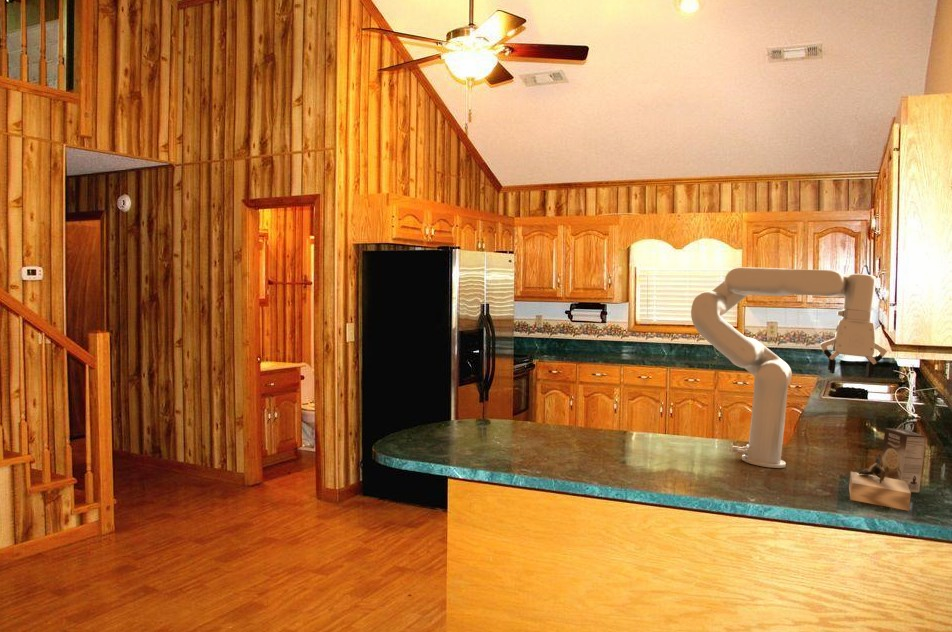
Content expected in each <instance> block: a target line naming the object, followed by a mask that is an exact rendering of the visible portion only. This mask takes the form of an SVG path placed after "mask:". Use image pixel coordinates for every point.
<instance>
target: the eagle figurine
mask: <svg viewBox="0 0 952 632" xmlns="http://www.w3.org/2000/svg"><path fill="white" fill-rule="evenodd" d="M881 459H882V455H881V454H880V453H878V455H876V458H875V460H874V463H873V464H871V465H870V466H869V468H865V469H862V470H861V471H859V472H858V473H859V474H865V475H874V476H877V477H879V478H880V483H881V481H882V480H884V478H885V477H886V476H887V475H888V474H890V473H892V472H894V471H896V470H897V468H895V469H893V470H891V471H889V468H888V466H887V467H886V469H885V471H883V470H882V469H880V468H881Z"/></svg>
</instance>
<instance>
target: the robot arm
mask: <svg viewBox="0 0 952 632" xmlns="http://www.w3.org/2000/svg"><path fill="white" fill-rule="evenodd" d="M724 277H725V278H724V281H722V282H721V283H720V284H719V285H717V286H716V287H715V288H713V289H712V290H705V291H702V292H699V293H698V294H697V295H696V296H695V297H694V298H693V301H692V305H691V307H690V308H691V309H690V316H691V321H692V324H693V326H694V329H695V330H696V331H697V332H698V334H699V335H700V336H701V337H702V338H703V339H705V340H706V341H707V342H708V343H709V344H710V345H711V346H713V347H714V348H715V349H716V350H717V351H718V352H719V353H720V354H722V355H723V356H725V358H726V359H728V360H729V361H730V362H731V363H732V364H733V365H735V366H737V367H739V368H742V369H745V370H746V371H747V372H748V373H750V374H751V375H753V376H754V377H753V394H752V395H753V397H752V407H751V419H750V428H749V437H748V444H746V445H745V446H744V445H743V446H737V445H732V446H731V452H732V453H736V454H742V455H741V460H742V461H743V462H744V463H747V464H751V465H754V466H758V467H759V466H760V467H762V468H763V467H764V468H772V469H783V468H786V467H787V465H786V464H787V463H786V461H784V460H782V453H783V452H782V451H783V442H784V434H785V433H784V431H785V422H786V413H787V412H786V411H787V402H788V393H789V392H788V391H789V390H788V389H789V384H790V383H791V381H792V380H793V379H792V378H793V372H792V368H791V367H790V365H789V364H788V363H787V362H786V361H785V360H784V359H782V358H780V357H779V356H778V355H777V353H776V354H775V352H773V351H772V350H771V349H769V348H768V347H767V346H766V345H764V344H763V343H761V342H760V341H759V340H757V339H756V338H753V337H748V336H746V335H744V334H742V332H740V331H738V329H736V328H735V327H734V326H733V325H732V324H730V323H729V322H727V320H724V318H723V317H722V316H723V315H725V314H726V313H727V312H729V311H730V310H731V309H732V308H734V307H735V306H737V304H739V303H740V302H741V301H743V300H744V299H745V298H746V297H747V296H763V297H764V296H767V297H786V296H815V297H816V296H819V297H820V296H821V297H827V298H844V300H843V306H842V307H843V308H842V309H841V310H837V311H836V312H837V313H836V316H839V317H840V318H841V319H839V320H838V323H837V326H836V330H835V334H834V337H833V338H832V339H828V340H826V341H823V342H821V343H820V348H821V350H822V353H823V354H824V355H825V356H826V358H827V359H828V363H827V364H828V365H827V370H828V371H829V373H830V374H835V370H836V364H837V362H836V361H837V360H836V357H838V356H839V355H844V356H845V355H846V356H855V357H862V358H866V360H867V361H868V362H867V363H866V366H865V368H866V369H865V377H866V378H870V379H871V378H872V376H873V375H874V370H875V365H876V364H877V363H878V362H880V361H881V360H882V359H883V358H884V356H885V355H886V353H887V351H888V350H887V349H885V348H883V347H882V346H881V345H879V344H877V343H875V342H876V329H875V327H876V326H875V323H874V322H872V318H873V317H872V316H873V310H874V309H873V307H874V300H875V299H874V298H875V294H876V293H875V292H876V286H877V285H876V284H877V280H876V276H874V275H871V274H866V273H865V274H864V273H850V274H845V273H840V272H839V271H837V270H831V269H802V268H801V269H794V268H780V267H779V268H778V267H777V268H776V267H747V266H746V267H745V266H744V267H733V268H731V269H730V270H729V271H728V272H727V273H726V274H725V276H724ZM831 345H832V352H830V351H829V349H828V347H829V346H831ZM875 350H877V351H878V353H877V355H876V356H874V354H875Z"/></svg>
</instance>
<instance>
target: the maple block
mask: <svg viewBox="0 0 952 632" xmlns="http://www.w3.org/2000/svg"><path fill="white" fill-rule="evenodd" d="M848 490H849V491H848V492H849V500H850V501H856V502H861V503H867V504H871V505H876V506H883V507H888V508H893V509H897V510H904V511H910V506H911V505H910V503H911V496H912V492H910V490H909V488H908V486H907V484H906V482H905V481H903V480H897V479H892V478H886V477H885V478H884V480H882V481H881V483H880V478H879V477H877V476H876V475H875V474H873V475H865V474H859V472H856V471H850V475H849V484H848Z"/></svg>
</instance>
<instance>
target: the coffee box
mask: <svg viewBox="0 0 952 632" xmlns="http://www.w3.org/2000/svg"><path fill="white" fill-rule="evenodd" d="M883 436H884V437H883V444H882V451H881V452H882V453H881V466H880V469H882V470H883V471H885V469H886V467H887V466H888V468H889V471H891V470H893V469H895V468H897V470H896V471H894V472H892V473H890V474H888V475H887V476H886V478H892V479H897V480H903V481H905V482H906V484H907V486H908V488H909V490H910V492H911V493H920V486H921V478H922V470H923V462H924V455H925V448H926V438H927V436H926V435H923V434H919V433H917V432H914V431H911V430H908V429H905V428H903V429H902V428H891V427H889V428H887V427H886V428H884V435H883Z"/></svg>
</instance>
